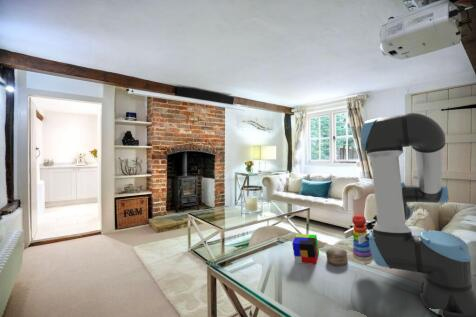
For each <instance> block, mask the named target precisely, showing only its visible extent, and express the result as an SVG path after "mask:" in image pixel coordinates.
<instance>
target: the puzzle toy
mask: <svg viewBox="0 0 476 317" xmlns="http://www.w3.org/2000/svg"><path fill="white" fill-rule="evenodd" d="M318 242H319V241H318V237H317V234H307V233H306V234H305V233H297V234H296V235H295V237H294V239H293V241H292V243H291V245H292V250H293V251H292V252H293V257H294V262H295V263H297V264H298V263H299V264H309V263H311V264H312V265H317V263H318V259H319V254H320V249H319V244H318Z"/></svg>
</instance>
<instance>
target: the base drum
mask: <svg viewBox="0 0 476 317" xmlns="http://www.w3.org/2000/svg"><path fill="white" fill-rule="evenodd" d="M325 254H326V261H327V263H328V264H329V265H331V266H334V267H342V266H345V265H347V264H348V262H349V260H348V254H347V250H345V249H344V248H341V247H331V248H329V249H327V250H326V251H325Z"/></svg>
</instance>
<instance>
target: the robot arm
mask: <svg viewBox="0 0 476 317" xmlns="http://www.w3.org/2000/svg"><path fill="white" fill-rule="evenodd" d="M445 146H446V134H445V132H444V130H443V128H442V126H440V124H439V123H438V122H436V121H435V120H434V119H433V118H432V117H430V116H427V115H425V114H422V113H419V112H417V113H416V112H411V113H408V112H407V113H404V114H398V115H391V116H383V117H378V118H377V117H376V118H374V119H370V120H366V121H365V122H363V124H362V126H361V130H360V147H361V150H362V151H364V152H365V154H366V156H367V157H368V158H370V160H371V166H372V179H373V180H372V181H373V188H374V189H373V190H374V200H375V201H374V202H375V203H374V204H375V211H376V212H375V215H374V216H373V218H372V219H369V220H366V223H365V226H366V227H367V230H368V231H367V232H366V233H365V234H363V235H361V236H359V237H358V241H359V244H361V243H363V242H365V241H367V240H369V245H370V250H371V254H372V257H373V259H372V260H373V262H374V263H375V264H376V265H377V266H379V267H384V268H388V269H391V270H392V269H394V270H402V271H406V272H407V271H408V272H411V273H412V272H414V273H419V274H420V273H421V274H423V275H424V278H423V281H422V284H421V286H420V289H419V296H420V297H419V298H420V300H421V302H422V304H423V306H424V307H425V308H427V307H428V308H431V309H442V311H443V316H444V317H476V291H475V289H474V287H473V286H474V285H473V278H472V277H473V276H472V268H471V267H472V266H471V260H472V257H471V254H470V249H469V245H468V244H467V243H466V242H465V240H464V239H462V238H460V237H458V236H456V235H454V234H453V233H449V232H445V231H442V230H441V231H440V230H432V229H429V230H424V231H421V232H420V234H419V235H413V233H412V232H413V231H412V229H411V228H410V227H408V225H407V224H406V222H407V221H408V220H409V219H411V217H413V210H412V208H411V206H410V205H408V203H431V204H432V203H433V204H434V203H435V204H440V203H448V202H449V200H450V198H449V197H450V196H449V190H448V186H447V185H445V184H443V173H442V172H443V169H442V167H443V166H442V164H443V162H442V161H443V158H442V156H443V155H442V153H443V152H442V151H443V149H444V148H445ZM405 147H411V148H412V149H413V150H414V151H415V160H416V168H417V169H416V170H417V179H418V184H417V185H416V184H415V185H406V184H405V182H404V181H402V179H401V178H402V177H401V170H400V169H401V166H400V159H399V157H400V156H401V155H402V154H403V153H404V148H405ZM354 226H355V225H354V223H352V224H349V229H347V230H346V231H344V232H343V234H344V235H343V236H344V239H346V240H347V239H349V238H351V237H353V235H354V234H353V231H354V228H353V227H354ZM428 308H427V309H428Z"/></svg>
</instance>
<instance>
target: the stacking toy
mask: <svg viewBox="0 0 476 317" xmlns="http://www.w3.org/2000/svg"><path fill="white" fill-rule="evenodd" d="M366 221H367V220H366V217H365V216H364V215H363V214H360V213H359V214H354V215H353V216H352V224H354V225H355V226H354V227H353V228H354V231H353V234H354V235H353V236H352V238H353V239H352V243H353V245H352V247H353V248H352V258H354V259H355V260H357V261H360V262H365V263H366V262H371V261H372V260H373V257H372V254H371V250H370V245H369V240H367V241H365V242H363V243H361V244H359V241H358V237H359V236H361V235H363V234H365V233H366V232H368V231H367V230H368V229H367V227H366V226H365V223H366Z"/></svg>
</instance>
